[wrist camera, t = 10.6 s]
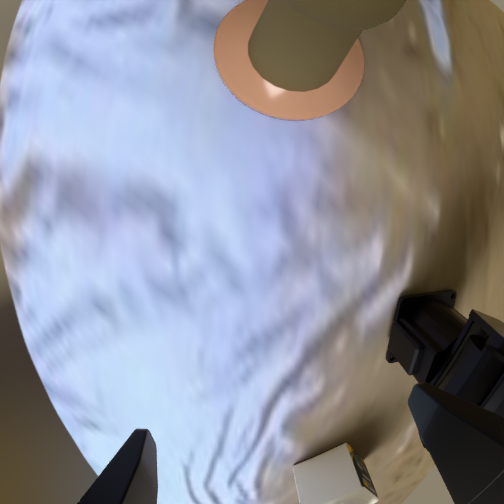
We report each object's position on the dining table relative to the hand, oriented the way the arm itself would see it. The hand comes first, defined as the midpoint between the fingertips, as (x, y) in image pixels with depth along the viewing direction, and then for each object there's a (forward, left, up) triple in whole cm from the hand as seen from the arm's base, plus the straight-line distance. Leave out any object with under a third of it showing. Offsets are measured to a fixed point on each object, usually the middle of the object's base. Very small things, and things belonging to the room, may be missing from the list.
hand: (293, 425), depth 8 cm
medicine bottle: (-8, +25, -13) cm, 30 cm away
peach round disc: (-2, -16, -13) cm, 20 cm away
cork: (-2, -15, -12) cm, 20 cm away
